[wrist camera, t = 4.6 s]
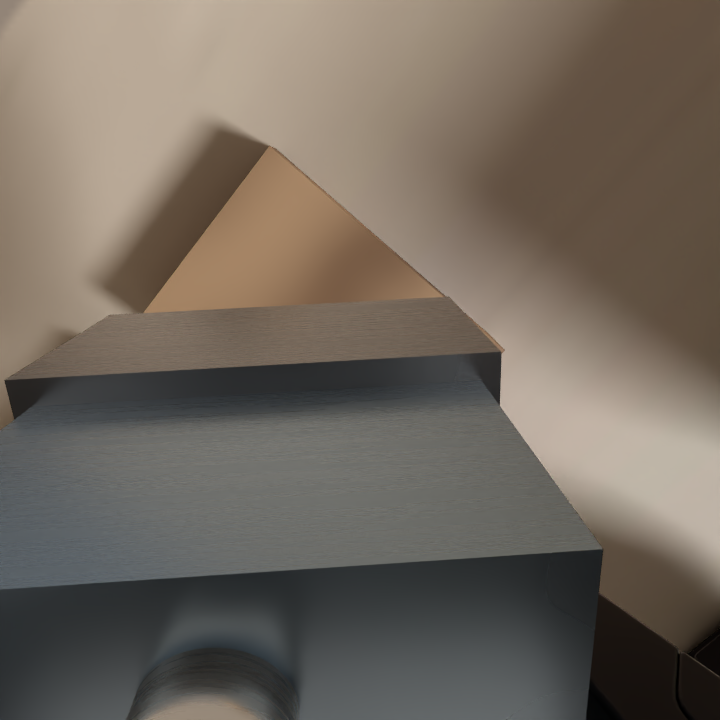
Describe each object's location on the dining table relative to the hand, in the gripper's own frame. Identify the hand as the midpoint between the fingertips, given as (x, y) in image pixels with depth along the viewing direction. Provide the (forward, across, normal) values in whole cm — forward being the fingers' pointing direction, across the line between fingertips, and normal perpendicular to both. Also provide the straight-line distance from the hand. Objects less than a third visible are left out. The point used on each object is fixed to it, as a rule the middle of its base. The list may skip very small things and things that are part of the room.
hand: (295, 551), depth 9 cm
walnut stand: (+13, 0, 0) cm, 13 cm away
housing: (+1, 0, 0) cm, 1 cm away
